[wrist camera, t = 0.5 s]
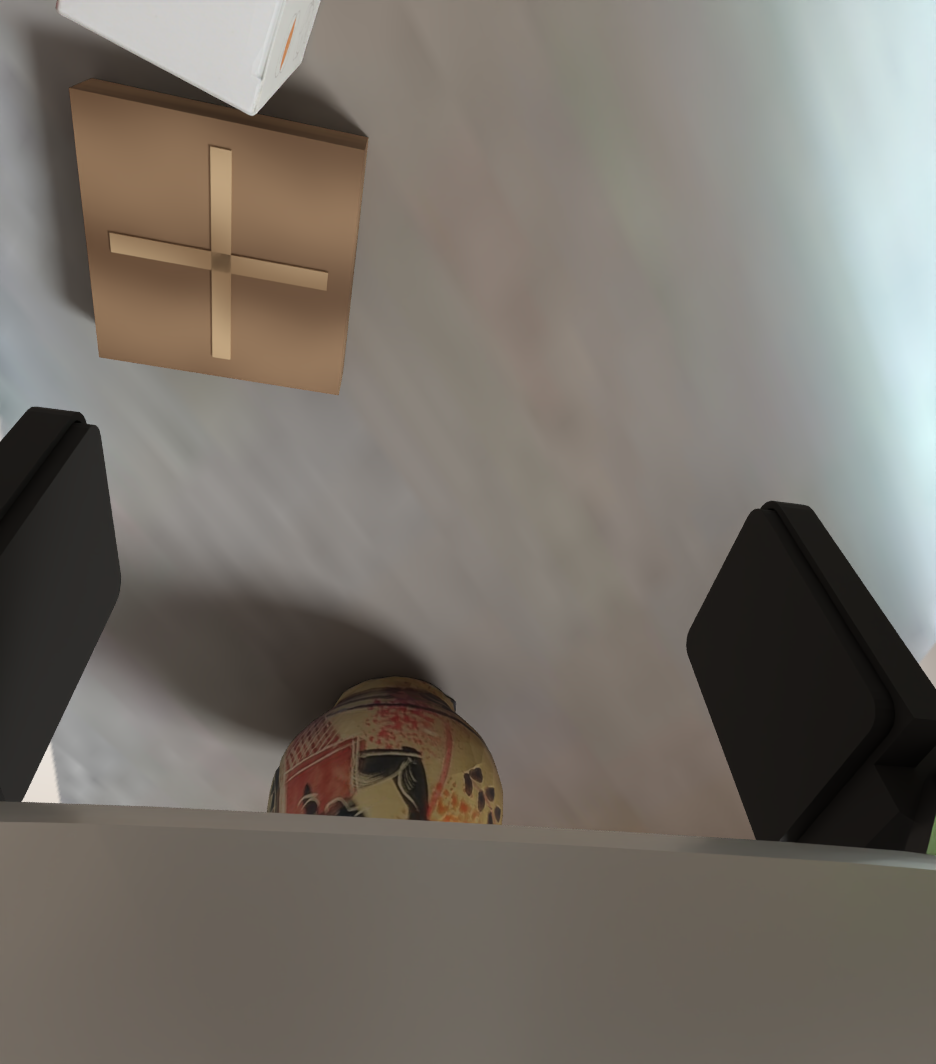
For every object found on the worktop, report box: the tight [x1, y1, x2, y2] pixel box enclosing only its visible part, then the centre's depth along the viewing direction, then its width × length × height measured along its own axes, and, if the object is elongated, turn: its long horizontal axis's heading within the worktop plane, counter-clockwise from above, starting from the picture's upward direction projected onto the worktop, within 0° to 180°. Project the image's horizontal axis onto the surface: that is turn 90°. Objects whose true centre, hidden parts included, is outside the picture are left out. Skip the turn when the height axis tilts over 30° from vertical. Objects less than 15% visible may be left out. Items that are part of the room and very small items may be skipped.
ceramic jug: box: [267, 676, 503, 825], centre depth 44 cm, size 17×16×30 cm
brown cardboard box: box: [69, 78, 368, 395], centre depth 33 cm, size 11×11×2 cm
